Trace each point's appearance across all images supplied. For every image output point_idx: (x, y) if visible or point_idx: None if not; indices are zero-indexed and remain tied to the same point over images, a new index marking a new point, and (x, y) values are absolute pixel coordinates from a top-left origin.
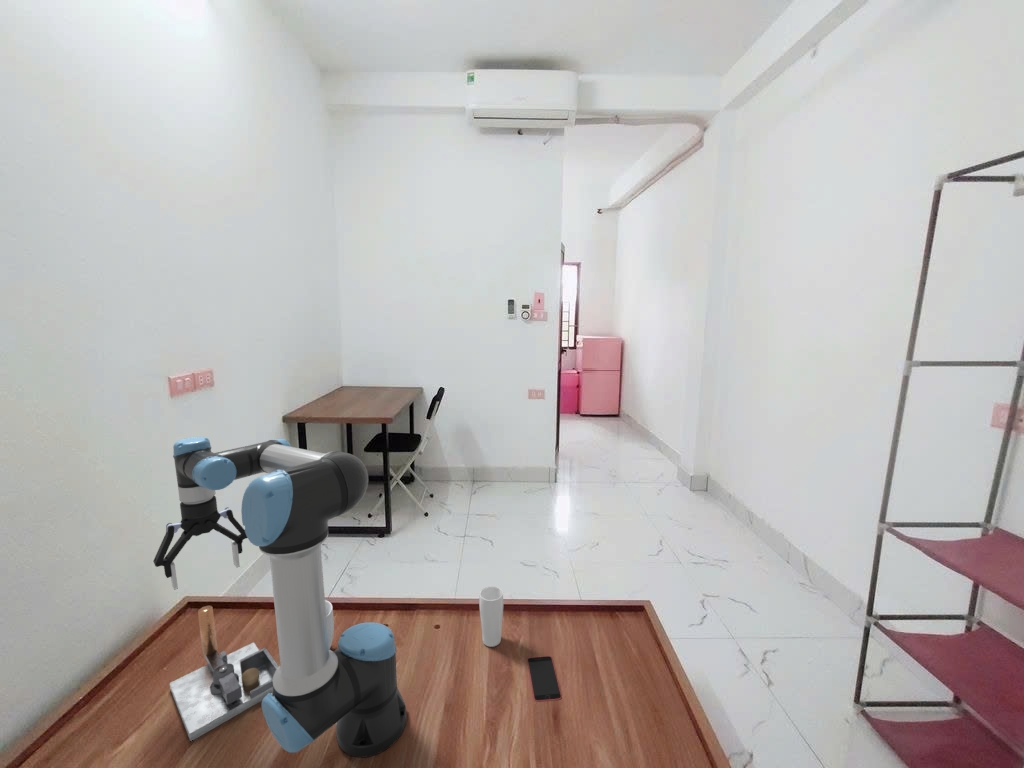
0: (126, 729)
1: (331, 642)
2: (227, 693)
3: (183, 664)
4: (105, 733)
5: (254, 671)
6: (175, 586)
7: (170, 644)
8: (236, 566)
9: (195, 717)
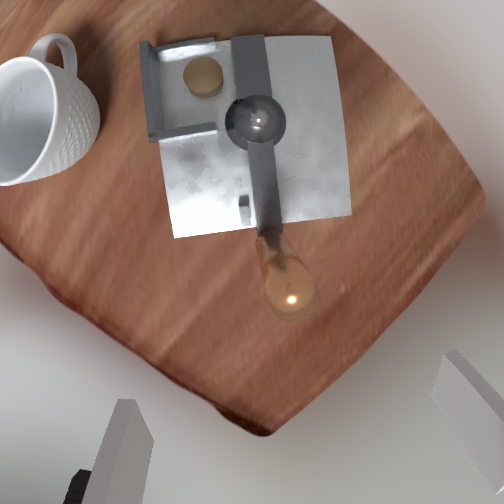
0: (409, 157)
1: (33, 106)
2: (261, 35)
3: (314, 278)
4: (431, 174)
5: (191, 74)
6: (459, 361)
7: (322, 355)
8: (132, 406)
9: (318, 67)
